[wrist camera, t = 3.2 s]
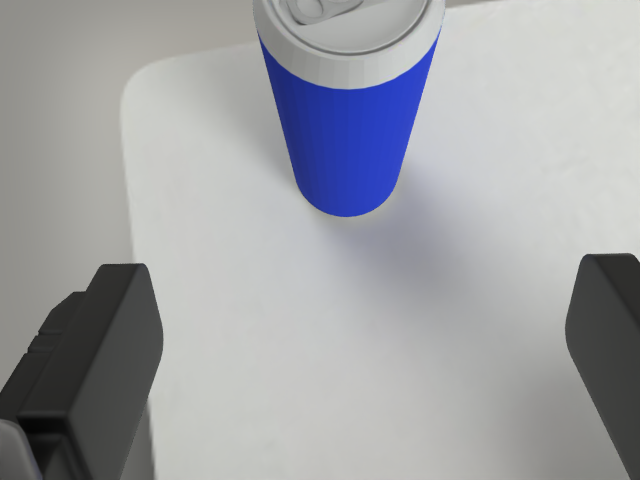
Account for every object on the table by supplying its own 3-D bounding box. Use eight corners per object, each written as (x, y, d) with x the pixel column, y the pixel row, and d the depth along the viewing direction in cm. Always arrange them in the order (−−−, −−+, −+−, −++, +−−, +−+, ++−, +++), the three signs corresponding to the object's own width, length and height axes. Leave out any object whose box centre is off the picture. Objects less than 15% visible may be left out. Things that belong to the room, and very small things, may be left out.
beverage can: (368, 105, 30) (391, -141, 15) (416, 191, 29) (490, 15, 14) (278, 149, 30) (214, -59, 15) (323, 237, 29) (302, 105, 14)
